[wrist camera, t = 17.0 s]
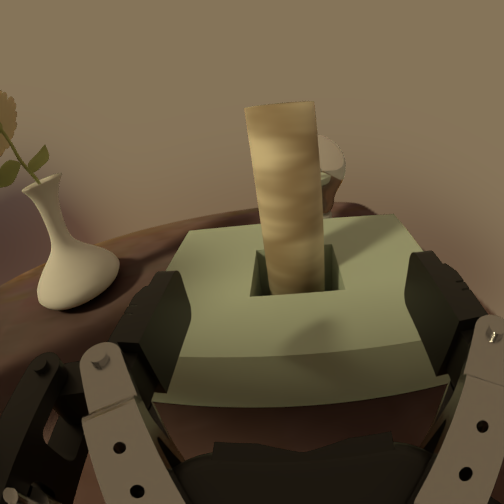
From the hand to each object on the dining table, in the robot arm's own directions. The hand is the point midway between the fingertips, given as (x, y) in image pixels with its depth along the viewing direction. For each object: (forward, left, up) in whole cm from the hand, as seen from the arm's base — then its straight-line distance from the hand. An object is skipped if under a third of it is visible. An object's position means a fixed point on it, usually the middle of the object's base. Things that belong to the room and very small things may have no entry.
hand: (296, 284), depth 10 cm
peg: (0, +10, -10) cm, 14 cm away
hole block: (0, +10, -10) cm, 14 cm away
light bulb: (+3, +25, -11) cm, 27 cm away
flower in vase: (-25, +15, -11) cm, 31 cm away
